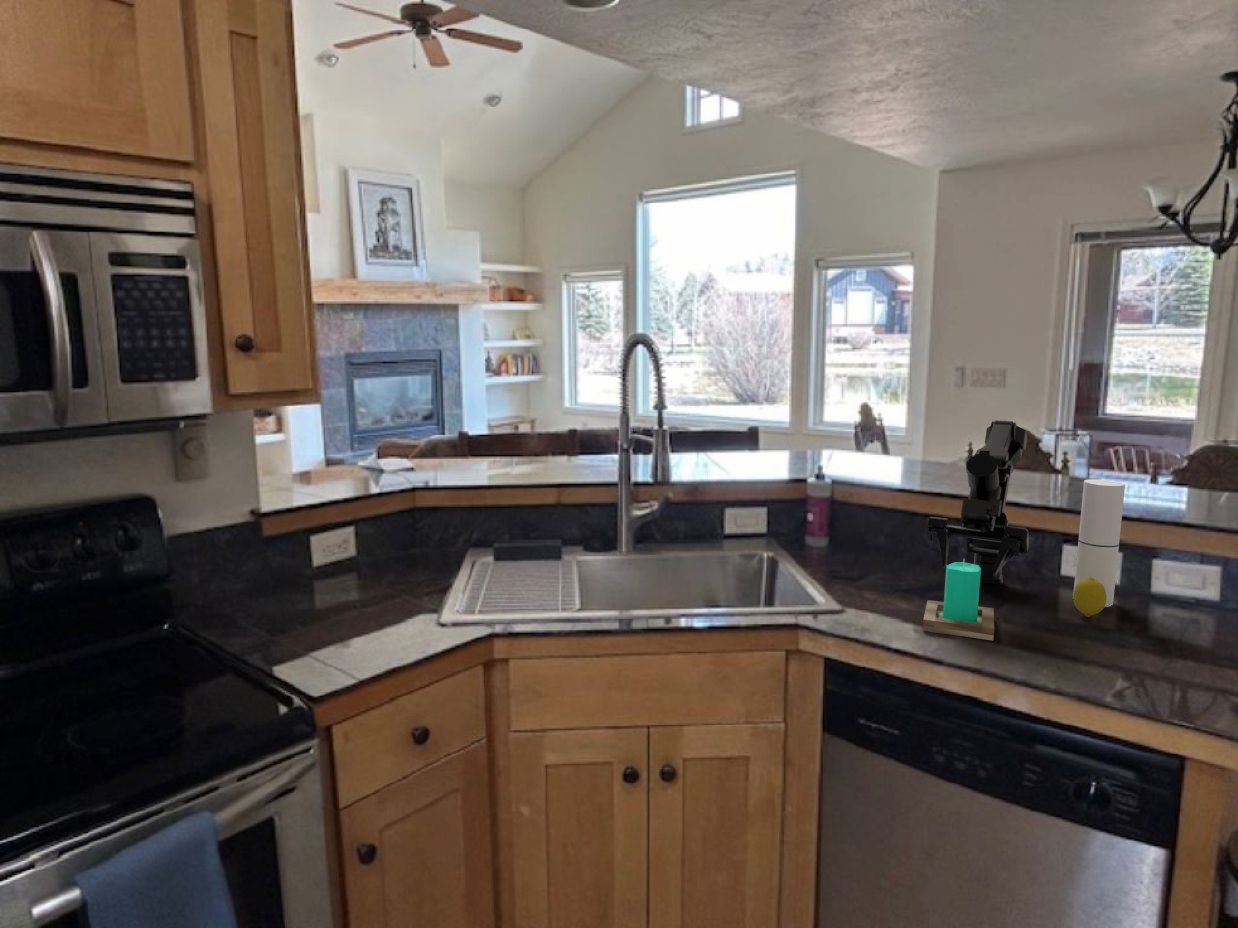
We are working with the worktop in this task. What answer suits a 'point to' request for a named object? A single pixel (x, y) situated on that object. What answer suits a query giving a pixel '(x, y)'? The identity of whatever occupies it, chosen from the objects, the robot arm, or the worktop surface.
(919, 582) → the worktop surface
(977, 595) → the candle
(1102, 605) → the lemon
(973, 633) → the candle stand
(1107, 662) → the worktop surface
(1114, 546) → the cylindrical container
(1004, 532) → the robot arm
